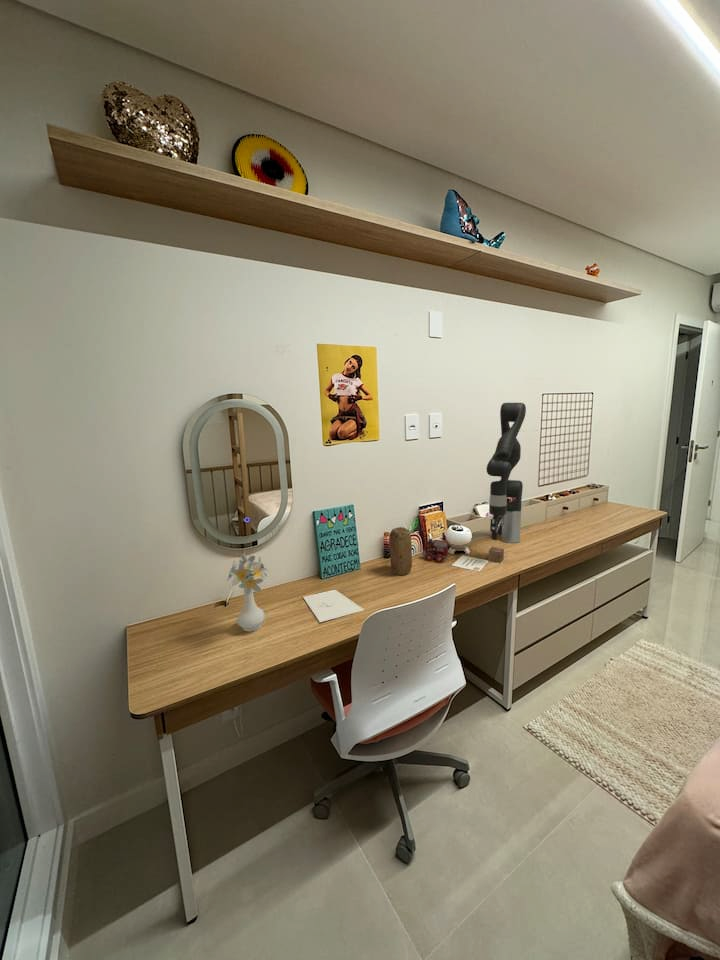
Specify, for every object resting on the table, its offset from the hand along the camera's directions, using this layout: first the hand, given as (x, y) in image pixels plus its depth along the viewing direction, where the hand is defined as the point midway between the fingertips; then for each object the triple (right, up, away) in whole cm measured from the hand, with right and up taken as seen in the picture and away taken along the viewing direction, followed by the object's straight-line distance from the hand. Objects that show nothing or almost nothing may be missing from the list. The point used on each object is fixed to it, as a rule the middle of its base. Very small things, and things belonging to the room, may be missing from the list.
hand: (497, 537), depth 175 cm
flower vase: (-102, -25, -46) cm, 114 cm away
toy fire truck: (-28, -12, +6) cm, 31 cm away
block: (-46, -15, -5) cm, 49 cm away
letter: (-13, -12, 0) cm, 18 cm away
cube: (0, -11, +2) cm, 12 cm away
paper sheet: (-71, -21, -30) cm, 80 cm away
